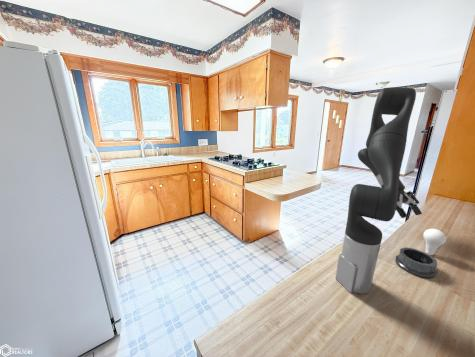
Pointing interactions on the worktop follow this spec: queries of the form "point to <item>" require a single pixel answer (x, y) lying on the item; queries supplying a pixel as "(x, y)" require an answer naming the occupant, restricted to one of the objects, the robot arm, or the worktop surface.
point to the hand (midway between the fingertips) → (412, 216)
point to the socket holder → (417, 263)
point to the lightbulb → (433, 240)
